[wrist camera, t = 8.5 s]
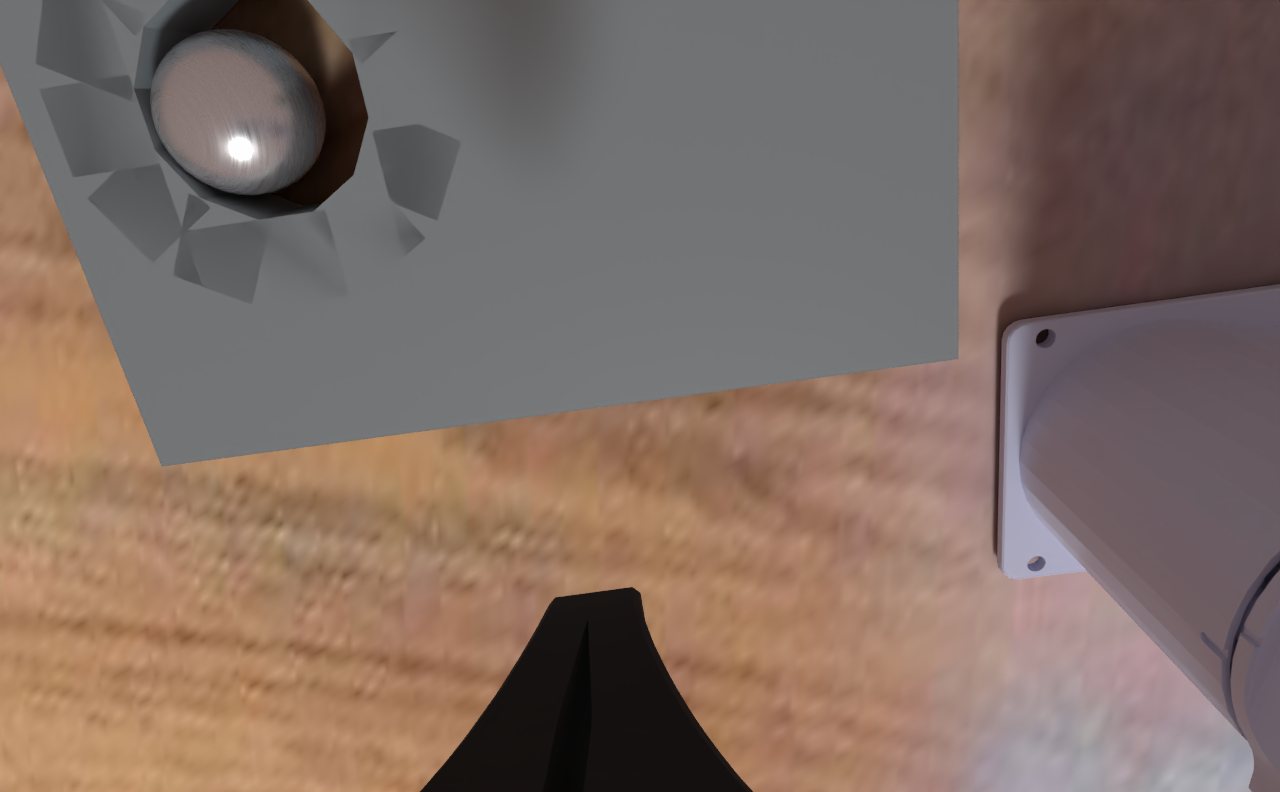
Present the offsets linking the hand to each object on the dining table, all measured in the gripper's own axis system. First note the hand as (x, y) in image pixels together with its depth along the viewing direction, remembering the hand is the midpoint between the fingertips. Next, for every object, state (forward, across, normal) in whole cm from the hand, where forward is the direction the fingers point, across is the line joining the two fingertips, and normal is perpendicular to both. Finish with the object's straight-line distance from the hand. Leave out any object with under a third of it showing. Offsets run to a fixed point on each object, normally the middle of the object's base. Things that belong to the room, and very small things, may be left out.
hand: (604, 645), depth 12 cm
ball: (+9, +7, -9) cm, 14 cm away
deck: (+10, +1, -9) cm, 14 cm away
